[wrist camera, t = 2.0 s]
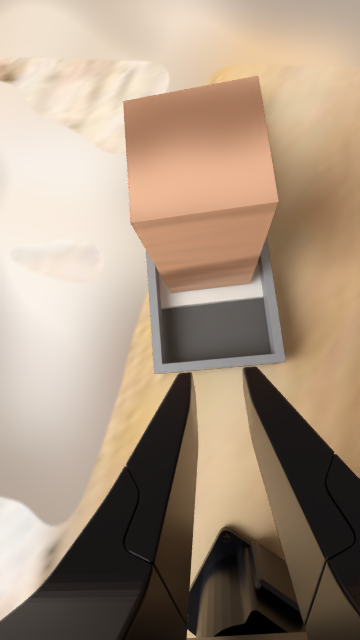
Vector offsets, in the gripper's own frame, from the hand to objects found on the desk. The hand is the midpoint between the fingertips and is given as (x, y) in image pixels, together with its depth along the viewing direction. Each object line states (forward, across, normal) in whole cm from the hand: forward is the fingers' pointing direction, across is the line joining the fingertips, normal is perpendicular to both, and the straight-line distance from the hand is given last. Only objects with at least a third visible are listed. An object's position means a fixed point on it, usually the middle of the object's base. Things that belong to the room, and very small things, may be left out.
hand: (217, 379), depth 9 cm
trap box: (+18, 0, +1) cm, 18 cm away
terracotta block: (+16, 0, +3) cm, 17 cm away
